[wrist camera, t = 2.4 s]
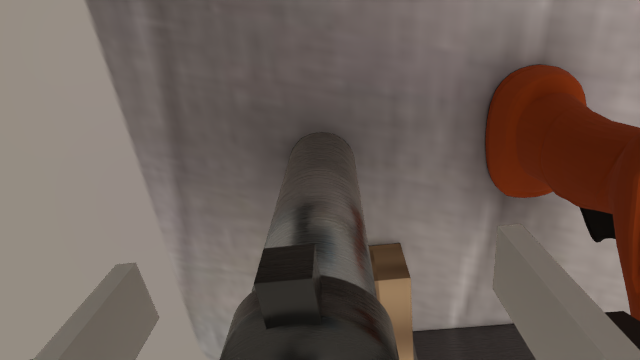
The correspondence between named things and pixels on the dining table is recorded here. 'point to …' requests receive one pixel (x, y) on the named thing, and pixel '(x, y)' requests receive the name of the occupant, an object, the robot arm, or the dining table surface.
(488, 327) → the block
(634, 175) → the toy drill
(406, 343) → the wooden square frame
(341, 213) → the dark grey tall piece
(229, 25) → the dining table surface
